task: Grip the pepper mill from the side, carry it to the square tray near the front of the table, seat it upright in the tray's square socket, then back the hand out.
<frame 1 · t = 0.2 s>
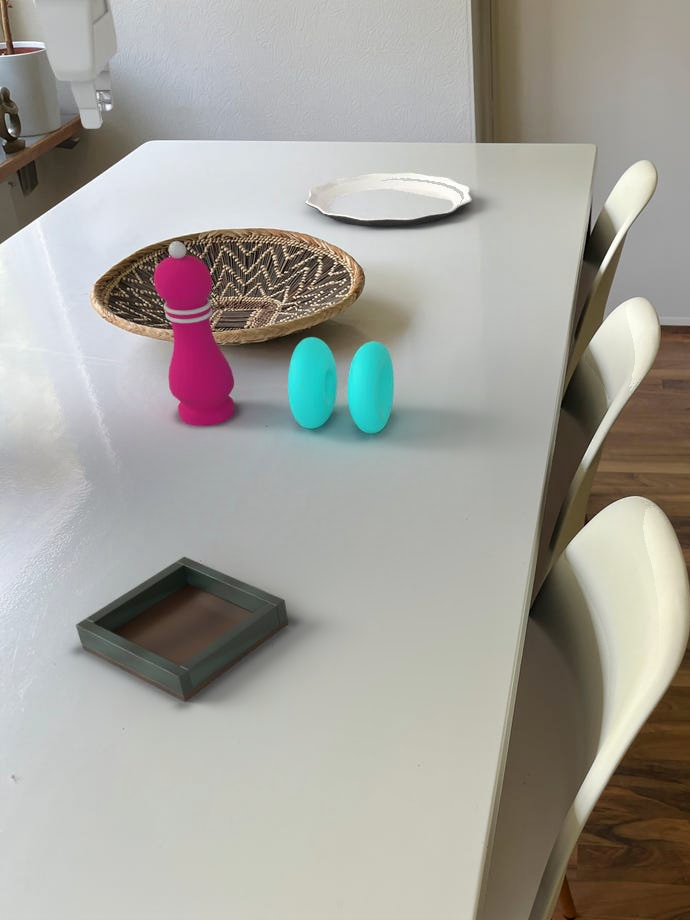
hand: (99, 118, 103), 31 cm above the table, tool pointing down, fingers open, 8 cm apart
pepper mill: (208, 418, 119), on the table
plate: (390, 209, 184), on the table
square tray: (188, 640, 86), on the table
donuts: (346, 428, 117), on the table
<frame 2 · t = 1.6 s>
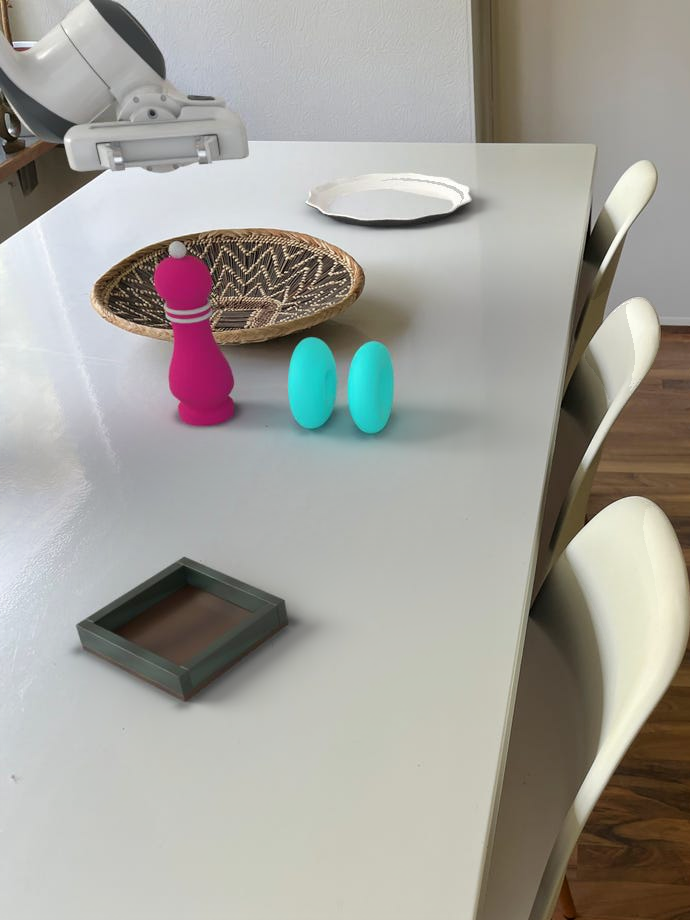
hand: (161, 159, 112), 25 cm above the table, tool horizontal, fingers open, 8 cm apart
nothing on the table moved.
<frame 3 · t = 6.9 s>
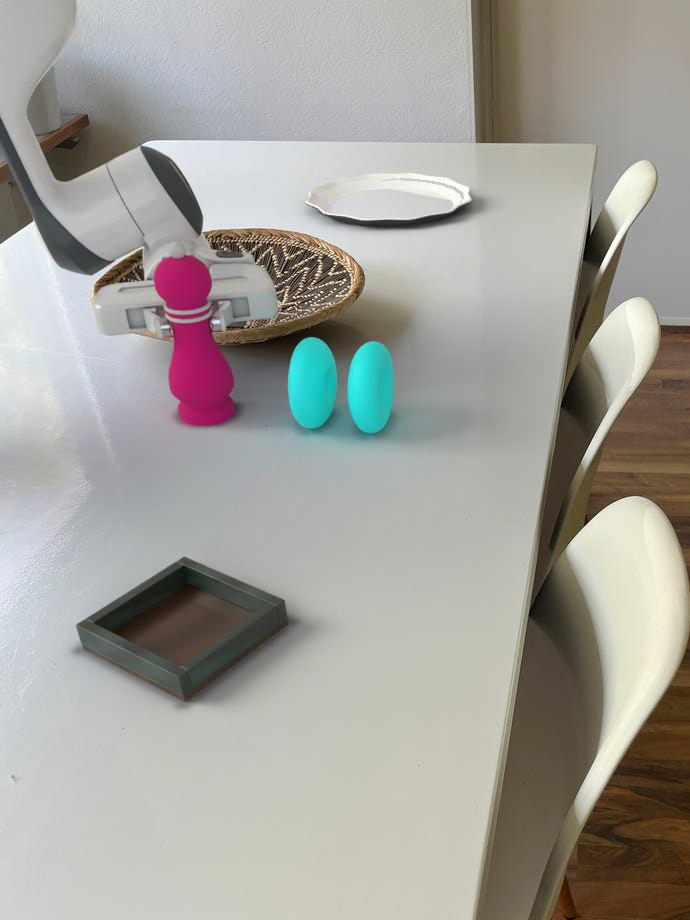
hand: (191, 328, 112), 11 cm above the table, tool horizontal, fingers closed on pepper mill, 4 cm apart
pepper mill: (208, 418, 119), on the table, touching gripper
everything else where it was.
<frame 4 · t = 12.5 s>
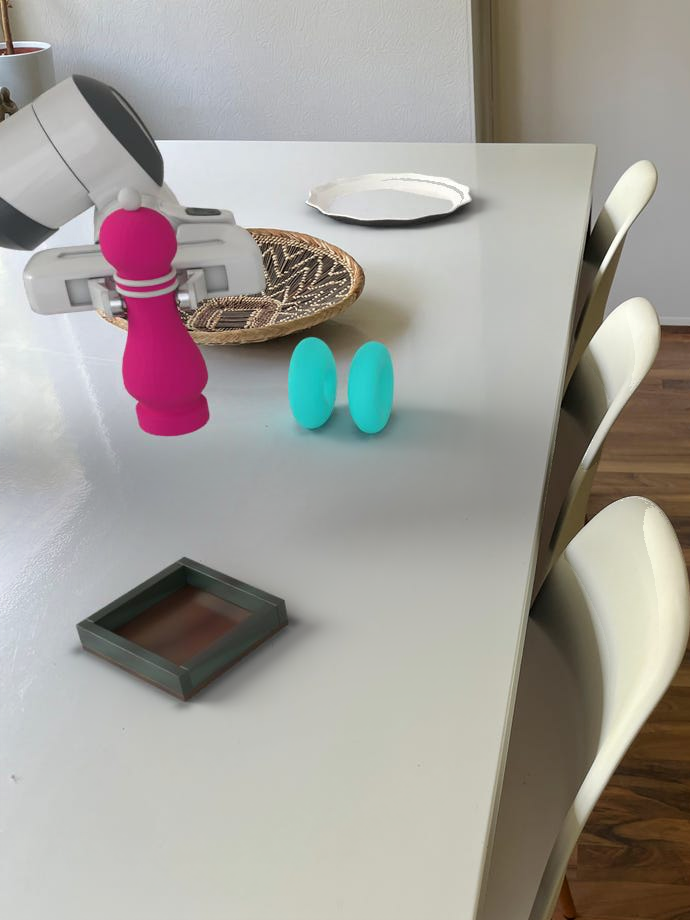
hand: (151, 304, 85), 23 cm above the table, tool horizontal, fingers closed on pepper mill, 4 cm apart
pepper mill: (175, 423, 93), point 12 cm above the table, touching gripper
everything else where it was.
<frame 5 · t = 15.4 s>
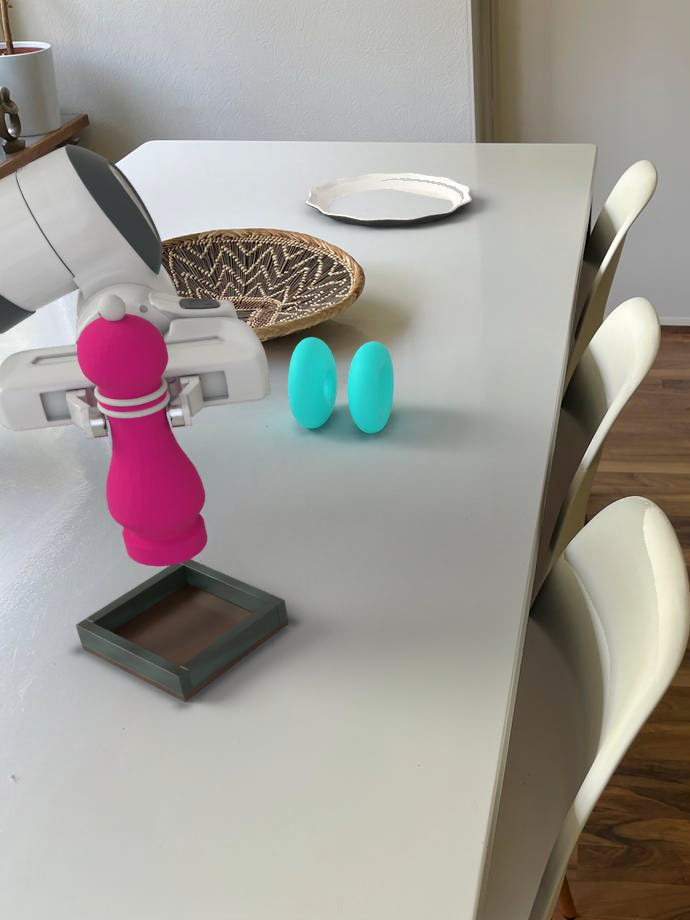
hand: (138, 423, 73), 20 cm above the table, tool horizontal, fingers closed on pepper mill, 4 cm apart
pepper mill: (168, 547, 81), point 9 cm above the table, touching gripper
everything else where it was.
when the fingers open (12 cm above the table, at t = 18.1 s): pepper mill stays where it is, resting on square tray.
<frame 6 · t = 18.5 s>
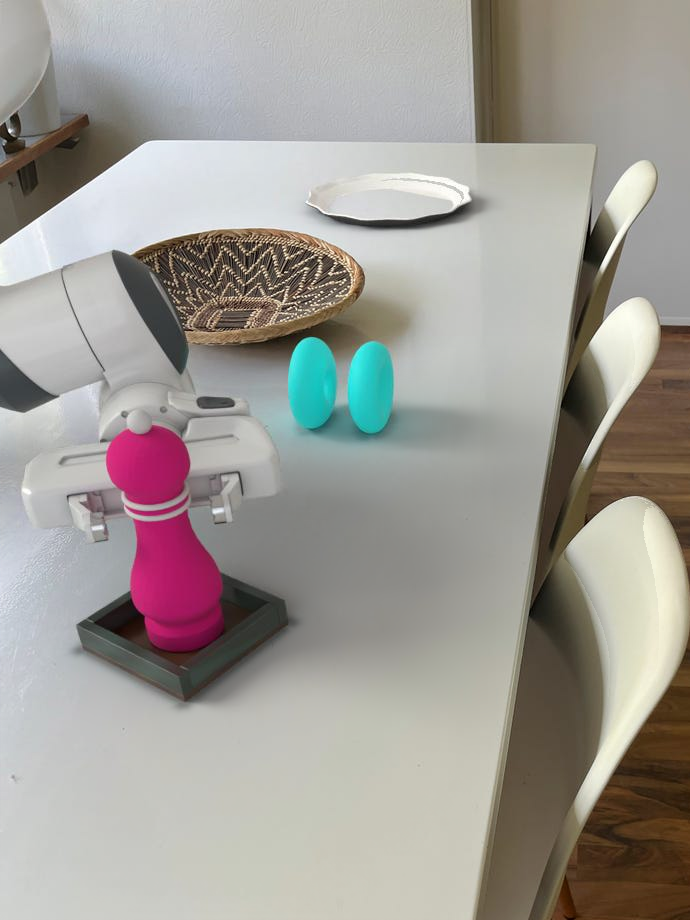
hand: (160, 525, 78), 12 cm above the table, tool horizontal, fingers open, 8 cm apart
pepper mill: (187, 631, 86), point 1 cm above the table, touching square tray
everything else where it was.
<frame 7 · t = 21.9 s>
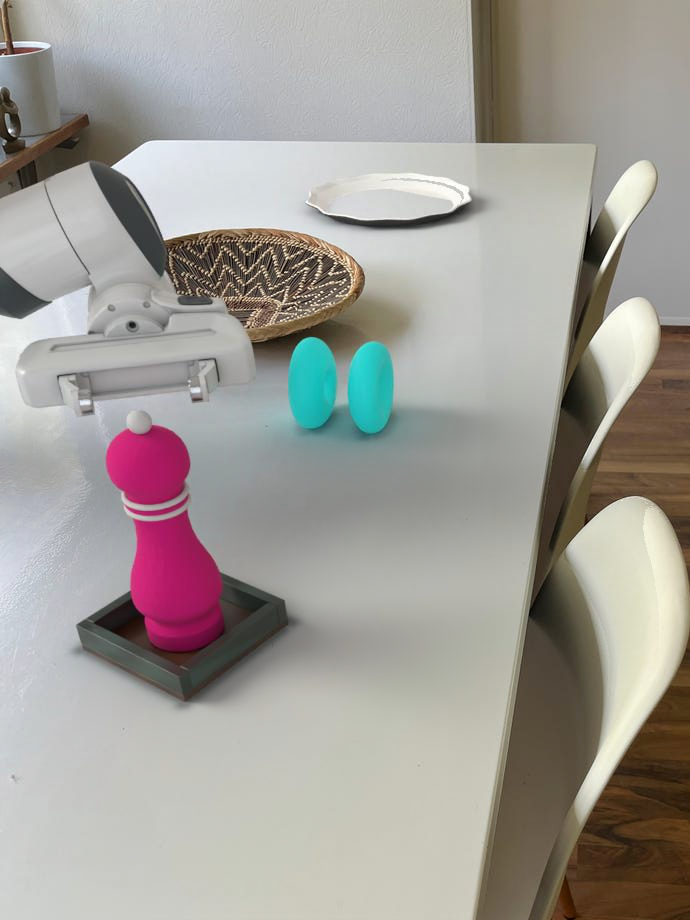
hand: (142, 401, 86), 16 cm above the table, tool horizontal, fingers open, 8 cm apart
nothing on the table moved.
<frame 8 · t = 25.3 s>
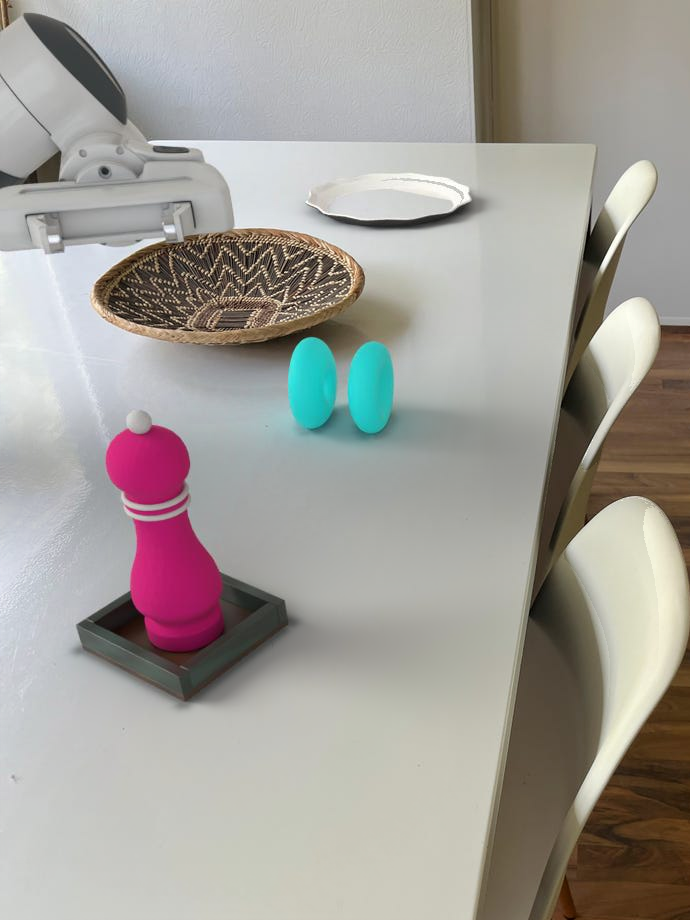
hand: (113, 238, 82), 28 cm above the table, tool horizontal, fingers open, 8 cm apart
nothing on the table moved.
at the end: pepper mill 0.1 cm off-centre on the square tray, point 0.8 cm above the square tray's base; pepper mill tilted 0°; the gripper is holding nothing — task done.
